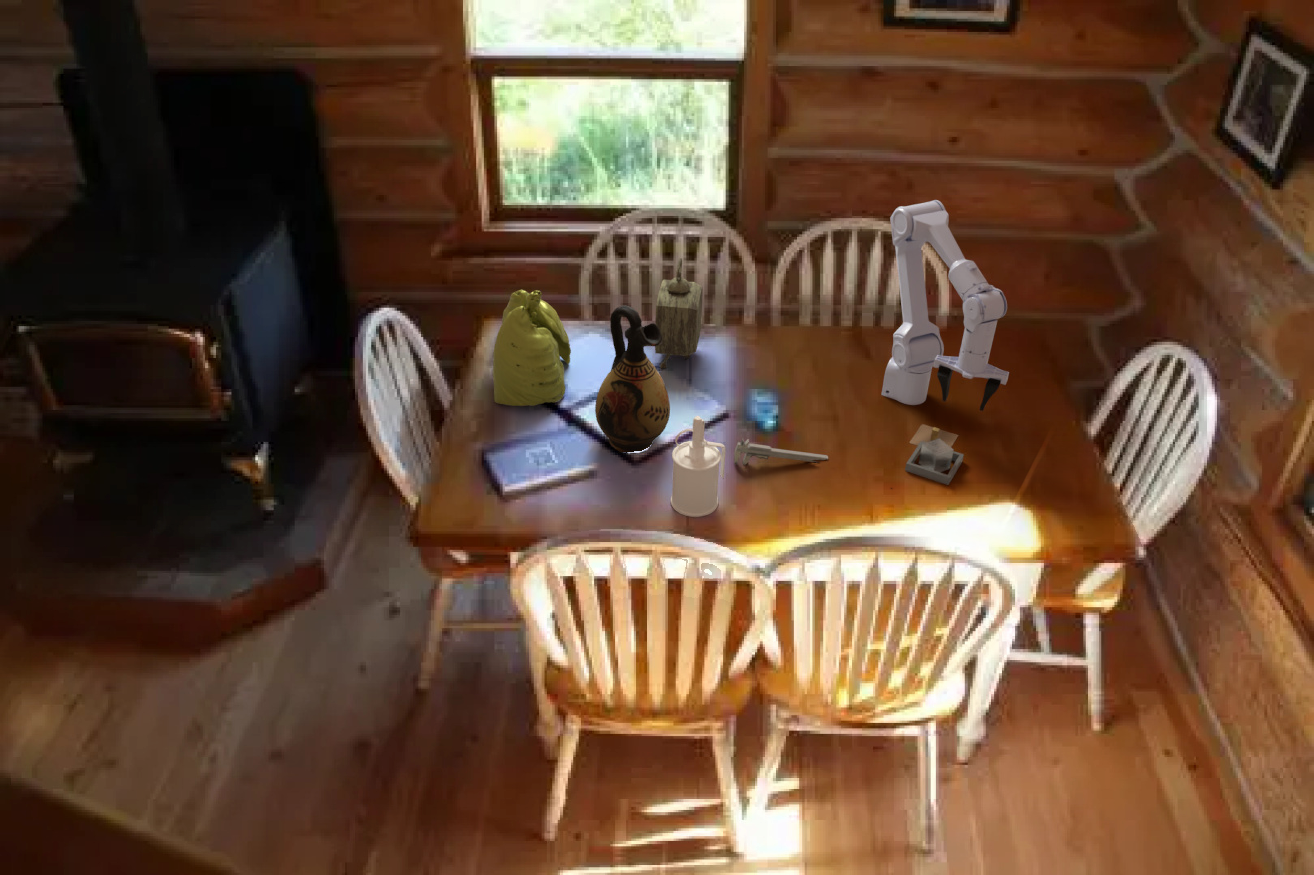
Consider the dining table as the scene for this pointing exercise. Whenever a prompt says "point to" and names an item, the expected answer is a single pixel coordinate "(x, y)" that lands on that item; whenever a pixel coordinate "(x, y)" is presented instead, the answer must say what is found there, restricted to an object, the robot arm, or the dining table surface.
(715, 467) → the white cylinder with rod
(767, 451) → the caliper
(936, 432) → the stud plate
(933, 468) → the grey block
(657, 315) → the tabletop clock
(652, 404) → the ceramic jug
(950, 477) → the bin
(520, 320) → the lungs
